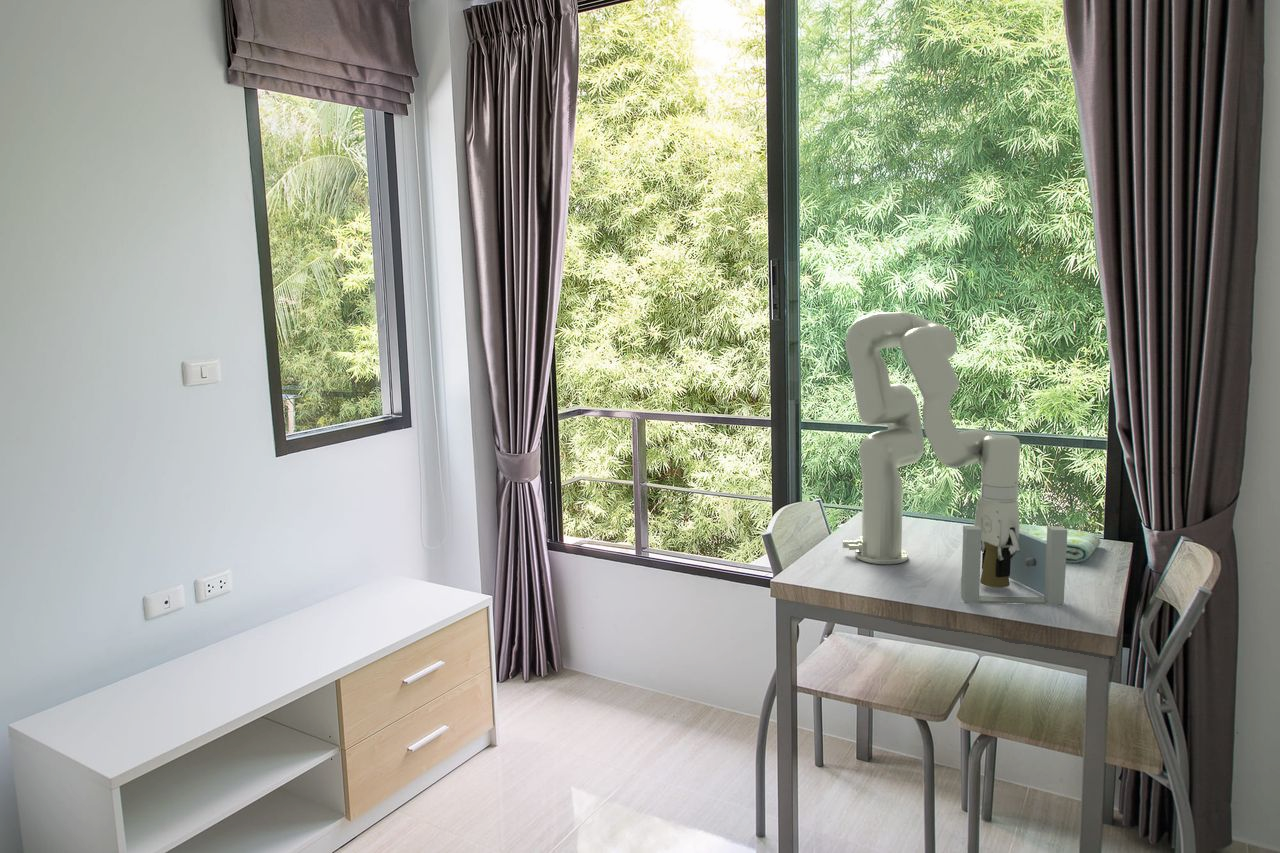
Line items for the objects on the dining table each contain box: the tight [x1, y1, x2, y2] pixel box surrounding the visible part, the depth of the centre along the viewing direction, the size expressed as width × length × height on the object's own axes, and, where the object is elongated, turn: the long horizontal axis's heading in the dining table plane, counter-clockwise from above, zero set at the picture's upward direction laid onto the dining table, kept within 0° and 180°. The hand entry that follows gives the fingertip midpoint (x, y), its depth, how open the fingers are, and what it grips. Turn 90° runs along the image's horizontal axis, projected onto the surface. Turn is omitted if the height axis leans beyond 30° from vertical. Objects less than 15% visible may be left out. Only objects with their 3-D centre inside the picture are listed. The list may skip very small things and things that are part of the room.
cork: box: [980, 542, 1010, 589], centre depth 195 cm, size 6×6×11 cm
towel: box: [1019, 523, 1101, 564], centre depth 223 cm, size 18×21×5 cm
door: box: [1009, 531, 1047, 596], centre depth 194 cm, size 13×3×11 cm, turn 13°
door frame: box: [960, 525, 1068, 605], centre depth 187 cm, size 20×3×16 cm, turn 83°
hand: (995, 572), depth 196 cm, fingers open, 4 cm apart
